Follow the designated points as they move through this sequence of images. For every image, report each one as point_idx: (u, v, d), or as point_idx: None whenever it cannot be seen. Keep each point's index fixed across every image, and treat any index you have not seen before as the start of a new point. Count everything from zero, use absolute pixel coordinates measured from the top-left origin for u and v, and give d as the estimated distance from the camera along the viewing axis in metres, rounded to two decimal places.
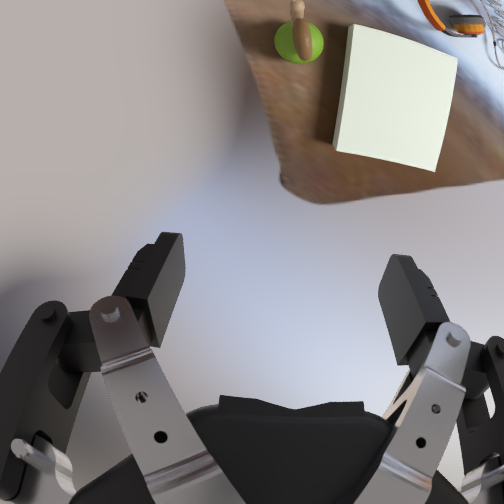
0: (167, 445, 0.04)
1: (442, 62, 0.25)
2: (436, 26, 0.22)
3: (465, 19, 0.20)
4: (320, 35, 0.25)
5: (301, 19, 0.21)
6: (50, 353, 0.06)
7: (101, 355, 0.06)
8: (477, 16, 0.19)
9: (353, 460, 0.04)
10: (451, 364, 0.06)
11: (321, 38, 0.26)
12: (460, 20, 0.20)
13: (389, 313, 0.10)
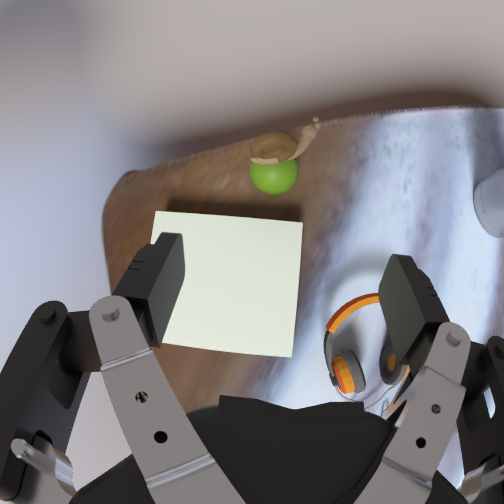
0: (167, 445, 0.04)
1: (280, 335, 0.30)
2: (330, 321, 0.29)
3: (353, 360, 0.28)
4: (282, 184, 0.32)
5: (295, 140, 0.27)
6: (50, 353, 0.06)
7: (101, 355, 0.06)
8: (363, 377, 0.27)
9: (353, 460, 0.04)
10: (451, 364, 0.06)
11: (279, 185, 0.31)
12: (349, 356, 0.29)
13: (389, 313, 0.10)
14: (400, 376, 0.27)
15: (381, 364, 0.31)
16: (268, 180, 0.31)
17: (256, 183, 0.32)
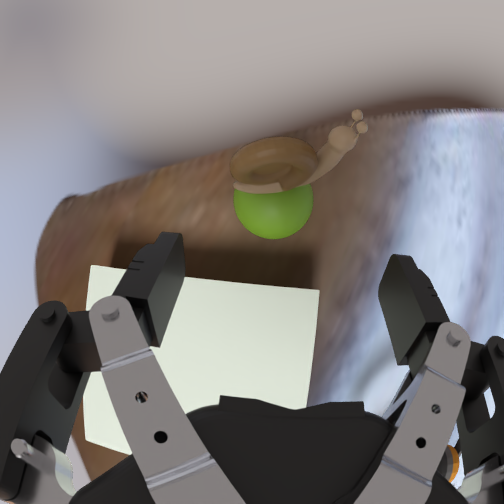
0: (167, 445, 0.04)
1: None
2: None
3: None
4: (288, 226, 0.19)
5: (314, 154, 0.14)
6: (50, 353, 0.06)
7: (101, 355, 0.06)
8: None
9: (353, 460, 0.04)
10: (451, 364, 0.06)
11: (282, 228, 0.19)
12: None
13: (389, 313, 0.10)
14: None
15: None
16: (264, 220, 0.19)
17: (244, 222, 0.20)
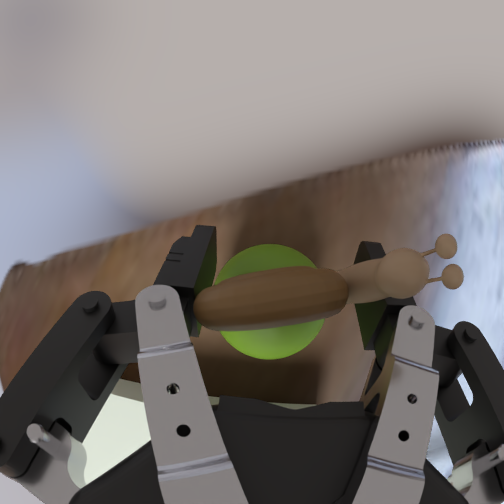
0: (167, 445, 0.04)
1: None
2: None
3: None
4: (290, 352, 0.13)
5: (346, 293, 0.08)
6: (86, 345, 0.06)
7: (140, 341, 0.06)
8: None
9: (337, 464, 0.04)
10: (419, 348, 0.07)
11: (281, 355, 0.13)
12: None
13: None
14: None
15: None
16: (255, 348, 0.12)
17: (227, 341, 0.13)
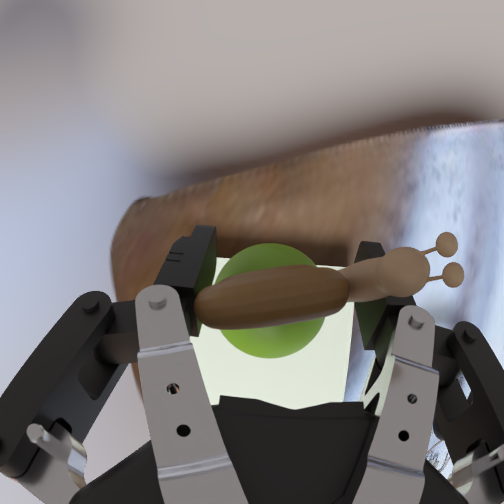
0: (167, 445, 0.04)
1: (329, 395, 0.25)
2: None
3: None
4: (290, 351, 0.13)
5: (347, 291, 0.08)
6: (86, 344, 0.06)
7: (140, 342, 0.06)
8: None
9: (337, 464, 0.04)
10: (419, 348, 0.07)
11: (282, 354, 0.13)
12: None
13: None
14: None
15: (435, 418, 0.25)
16: (255, 347, 0.12)
17: None
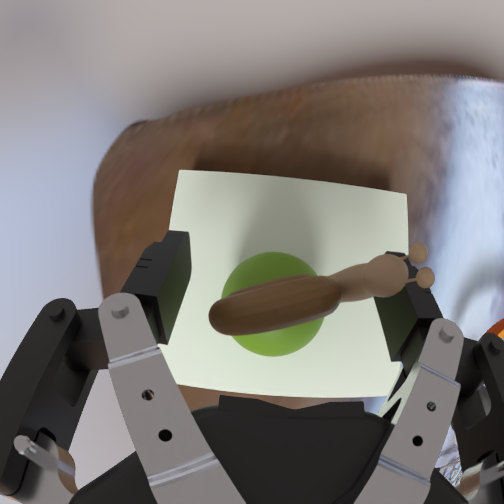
0: (167, 445, 0.04)
1: (382, 364, 0.17)
2: None
3: None
4: (295, 348, 0.14)
5: (338, 295, 0.09)
6: (57, 351, 0.06)
7: (108, 352, 0.06)
8: None
9: (350, 461, 0.04)
10: (445, 360, 0.06)
11: (288, 351, 0.14)
12: (485, 394, 0.16)
13: (383, 310, 0.10)
14: None
15: None
16: (264, 347, 0.14)
17: (238, 343, 0.15)
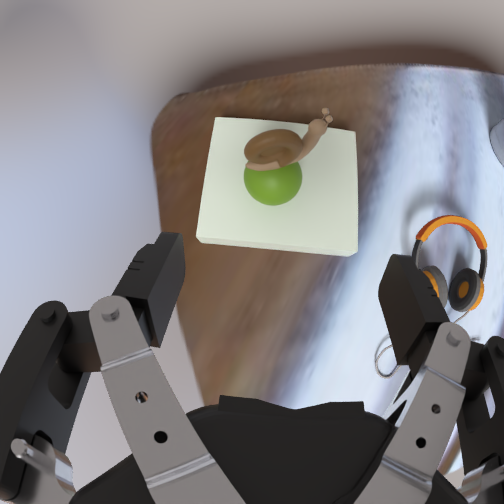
0: (167, 445, 0.04)
1: (345, 228, 0.29)
2: (421, 231, 0.28)
3: (438, 272, 0.27)
4: (285, 193, 0.26)
5: (300, 139, 0.21)
6: (50, 353, 0.06)
7: (101, 355, 0.06)
8: (447, 290, 0.26)
9: (353, 460, 0.04)
10: (451, 364, 0.06)
11: (281, 195, 0.26)
12: (434, 269, 0.28)
13: (389, 313, 0.10)
14: (474, 298, 0.26)
15: (451, 293, 0.30)
16: (268, 189, 0.26)
17: (253, 194, 0.27)
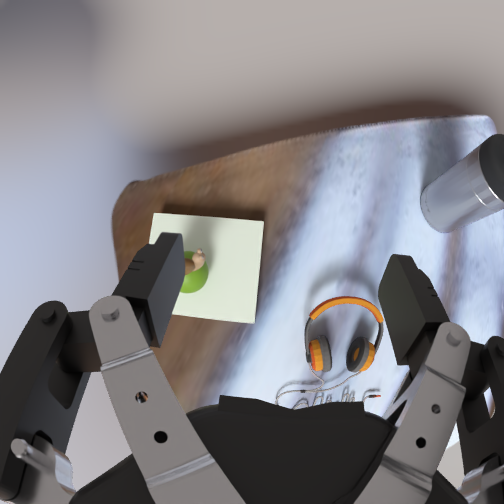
0: (167, 445, 0.04)
1: (245, 306, 0.40)
2: (313, 310, 0.39)
3: (325, 344, 0.38)
4: (192, 288, 0.37)
5: (189, 263, 0.32)
6: (50, 353, 0.06)
7: (101, 355, 0.06)
8: (330, 358, 0.37)
9: (353, 460, 0.04)
10: (451, 364, 0.06)
11: (190, 289, 0.37)
12: (322, 340, 0.39)
13: (389, 313, 0.10)
14: (360, 365, 0.37)
15: (348, 355, 0.41)
16: None
17: None
